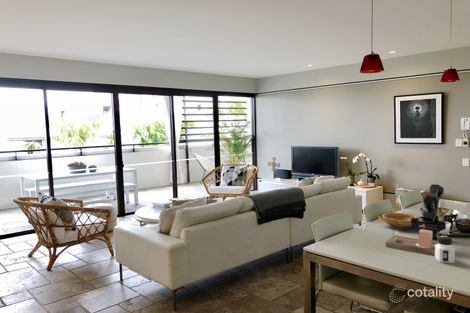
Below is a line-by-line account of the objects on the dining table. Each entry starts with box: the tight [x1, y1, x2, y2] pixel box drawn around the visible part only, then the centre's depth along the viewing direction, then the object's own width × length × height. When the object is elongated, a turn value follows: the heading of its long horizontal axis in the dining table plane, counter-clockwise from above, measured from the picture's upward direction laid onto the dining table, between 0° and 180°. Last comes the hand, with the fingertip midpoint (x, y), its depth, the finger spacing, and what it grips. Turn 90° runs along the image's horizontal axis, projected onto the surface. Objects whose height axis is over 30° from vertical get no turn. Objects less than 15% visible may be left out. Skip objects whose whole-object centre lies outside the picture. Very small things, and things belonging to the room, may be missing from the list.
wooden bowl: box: [378, 212, 423, 230], centre depth 270 cm, size 30×24×8 cm
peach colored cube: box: [418, 228, 433, 248], centre depth 217 cm, size 6×6×8 cm
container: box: [434, 235, 456, 264], centre depth 201 cm, size 8×8×13 cm
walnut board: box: [385, 234, 438, 257], centre depth 224 cm, size 18×28×5 cm, turn 50°
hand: (426, 235), depth 219 cm, fingers open, 9 cm apart
